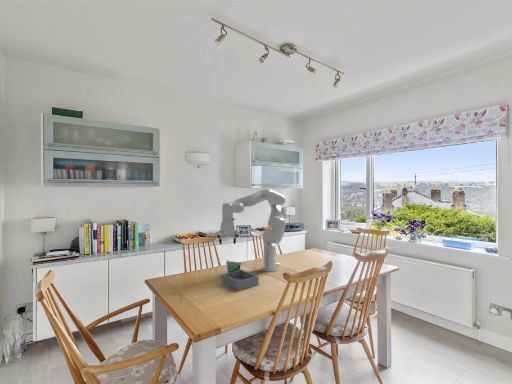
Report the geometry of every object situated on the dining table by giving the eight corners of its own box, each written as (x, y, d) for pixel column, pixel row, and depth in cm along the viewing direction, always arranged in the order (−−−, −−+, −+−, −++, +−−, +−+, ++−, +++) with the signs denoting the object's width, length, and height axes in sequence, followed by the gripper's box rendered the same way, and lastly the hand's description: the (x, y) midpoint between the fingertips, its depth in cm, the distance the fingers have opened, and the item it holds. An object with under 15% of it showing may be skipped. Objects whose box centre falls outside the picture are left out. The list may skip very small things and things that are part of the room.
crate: (241, 278, 197) (241, 269, 197) (258, 285, 183) (258, 276, 183) (222, 283, 186) (222, 274, 186) (238, 291, 172) (238, 281, 172)
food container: (222, 275, 203) (222, 261, 203) (227, 272, 209) (227, 259, 209) (236, 277, 198) (236, 263, 198) (241, 275, 203) (241, 261, 203)
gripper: (238, 219, 201) (238, 242, 201) (215, 219, 198) (215, 243, 198) (240, 220, 194) (240, 244, 194) (215, 221, 190) (215, 245, 191)
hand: (227, 244), depth 196 cm, fingers open, 9 cm apart
